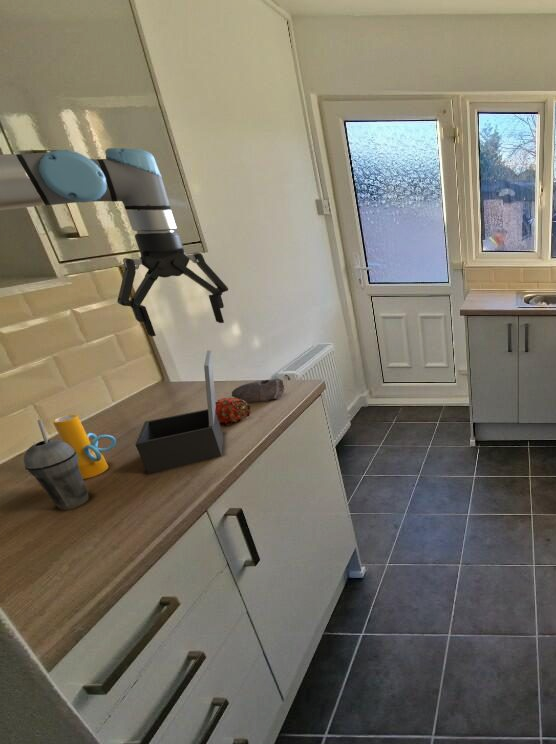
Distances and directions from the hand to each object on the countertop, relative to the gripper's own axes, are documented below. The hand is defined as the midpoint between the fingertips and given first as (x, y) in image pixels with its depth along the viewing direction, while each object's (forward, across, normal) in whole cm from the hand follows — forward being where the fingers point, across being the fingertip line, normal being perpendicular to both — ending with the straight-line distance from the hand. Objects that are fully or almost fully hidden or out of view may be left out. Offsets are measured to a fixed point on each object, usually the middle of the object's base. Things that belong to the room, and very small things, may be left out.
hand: (187, 328), depth 97 cm
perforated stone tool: (+32, -18, -21) cm, 42 cm away
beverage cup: (+32, +29, 0) cm, 44 cm away
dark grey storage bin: (+32, +8, -3) cm, 33 cm away
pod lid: (+15, 0, 0) cm, 15 cm away
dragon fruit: (+32, -6, -13) cm, 35 cm away
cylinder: (+32, +24, -12) cm, 42 cm away
